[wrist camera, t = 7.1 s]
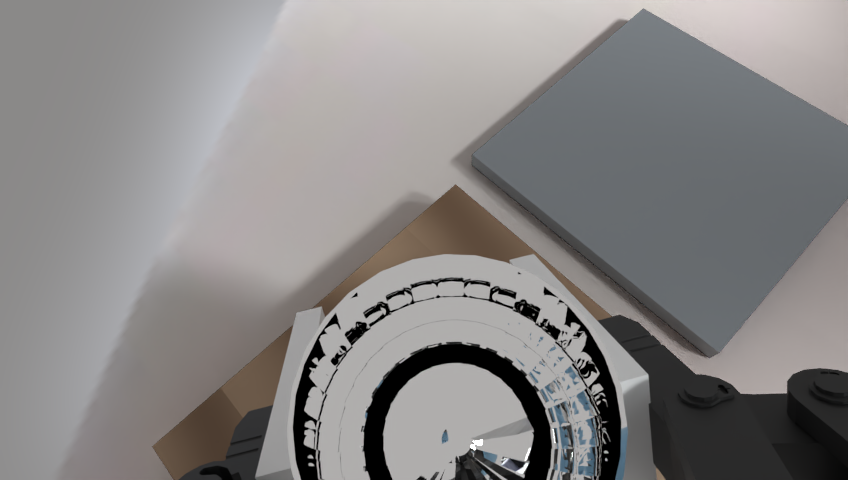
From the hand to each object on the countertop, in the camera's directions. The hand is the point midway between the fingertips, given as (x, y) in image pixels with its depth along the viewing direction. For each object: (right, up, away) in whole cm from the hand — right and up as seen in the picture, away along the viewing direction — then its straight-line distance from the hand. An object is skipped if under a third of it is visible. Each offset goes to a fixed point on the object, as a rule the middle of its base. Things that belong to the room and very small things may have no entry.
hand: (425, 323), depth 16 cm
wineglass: (+1, -5, +2) cm, 6 cm away
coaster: (+11, +6, +7) cm, 14 cm away
